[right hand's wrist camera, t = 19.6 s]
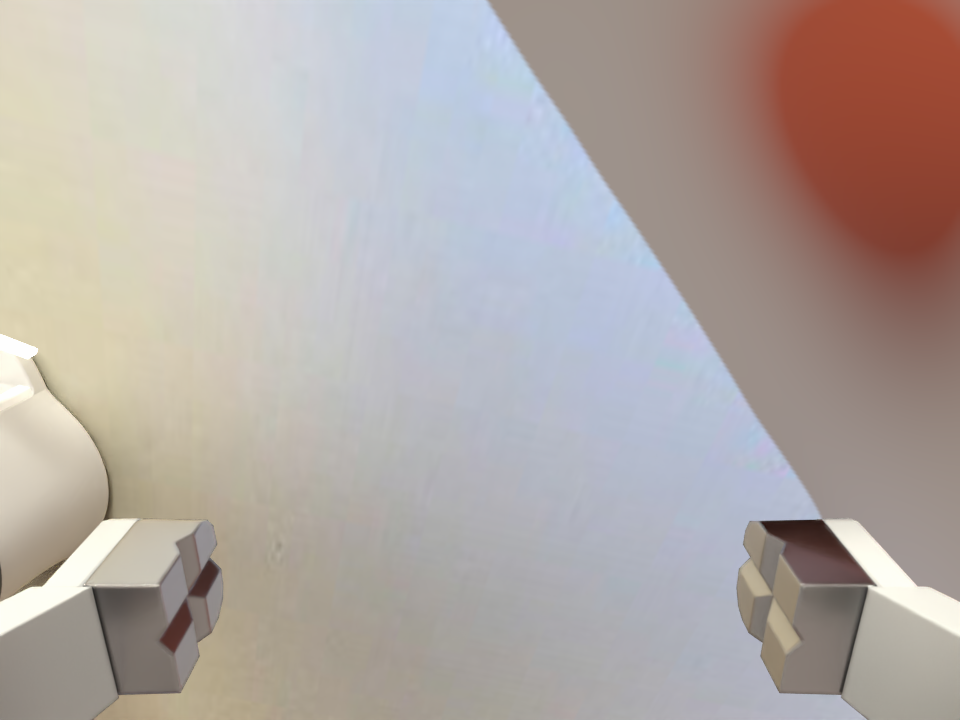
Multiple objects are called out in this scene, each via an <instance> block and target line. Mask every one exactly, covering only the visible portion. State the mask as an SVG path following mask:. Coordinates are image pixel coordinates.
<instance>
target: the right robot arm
mask: <svg viewBox="0 0 960 720" xmlns="http://www.w3.org/2000/svg"><path fill="white" fill-rule="evenodd" d="M37 350H38V349H37V348H34V347H32V346H29V345H27V344H24V343H21V342H19V341H16V340H14V339H11V338H9V337H6V336H3V335H1V334H0V720H93V719H94V718H95V717H96V716H98V715H99V714H100V713H101V712H103V711H104V710H105V709H106V708H107V707H109V706H110V705H111V704H112V703H113V702H115V701H116V700H117V699H118V698H119V696H118V695H129V694H163V693H181V691H182V689H183V687H184V685H185V684H186V682H187V680H188V678H189V676H190V674H191V672H192V670H193V668H194V666H195V664H196V662H197V660H198V658H199V650H198V644H197V643H198V642H199V641H201V640H202V639H203V638H205V637H206V636H208V635H209V634H211V633H212V631H213V629H214V626H215V624H216V622H217V620H218V618H219V614H220V609H221V605H222V600H223V578H222V572H221V568H220V567H219V566H218V565H217V564H216V563H215V562H214V561H213V560H212V559H211V558H210V556H211V554H212V552H213V550H214V549H215V547H216V545H217V541H216V536H215V532H214V527H213V525H212V524H211V523H210V522H209V521H208V520H181V519H139V518H137V519H108V520H105V521H103V520H104V518H105V515H106V511H107V506H108V498H109V487H108V479H107V474H106V470H105V466H104V463H103V461H102V458H101V456H100V453H99V451H98V449H97V447H96V445H95V444H94V442H93V440H92V439H91V437H90V436H89V434H88V433H87V431H86V430H85V429H84V427H83V426H82V425H81V424H80V422H79V421H78V420H77V419H76V418H75V417H74V416H73V415H72V414H71V413H70V412H69V411H68V410H67V409H66V408H65V407H64V406H63V405H62V404H61V403H60V402H59V401H58V400H57V399H56V398H55V397H54V396H53V395H52V394H51V393H50V391H49V390H48V389H47V387H46V385H45V382H44V380H43V378H42V376H41V374H40V372H39V370H38V368H37V366H36V364H35V363H34V361H33V359H32V358H31V357H32V356H34V355H36V354H37ZM743 545H744V547H745V549H746V550H747V552H748V554H749V556H750V558H749V559H748V560H747V561H746V562H745V563H744V564H743V565H742V566H741V567H740V568H739V572H738V580H737V598H738V607H739V610H740V614H741V617H742V620H743V622H744V624H745V627H746V629H747V631H748V633H749V634H751V635H752V636H754V637H755V638H757V639H758V640H759V641H761V642H762V643H763V644H762V650H761V658H762V660H763V662H764V664H765V666H766V668H767V670H768V672H769V674H770V676H771V678H772V680H773V681H774V683H775V685H776V687H777V689H778V691H779V693H795V694H831V695H842V696H841V698H842V699H843V700H845V701H846V702H847V703H848V704H849V705H851V706H852V707H853V708H854V709H855V710H857V711H858V712H859V713H860V714H861V715H863V716H864V717H865V718H866V719H867V720H960V602H959V601H957V600H955V599H953V598H951V597H949V596H947V595H945V594H942V593H940V592H938V591H936V590H934V589H932V588H930V587H918V586H917V585H916V584H915V583H914V582H913V581H912V580H911V579H910V578H909V577H908V576H907V574H906V573H905V572H904V571H903V570H902V569H901V568H900V567H899V566H898V565H897V564H896V562H895V561H894V560H893V559H892V558H891V557H890V556H889V555H888V554H887V553H886V552H885V550H884V549H883V548H882V547H881V546H880V545H879V544H878V543H877V542H876V541H875V539H874V538H873V537H872V536H871V535H870V534H869V533H868V532H867V531H866V530H865V529H864V527H863V526H862V525H861V524H860V523H859V522H857V521H855V520H853V519H851V518H838V519H817V520H779V521H750V522H749V524H748V526H747V528H746V530H745V535H744V541H743ZM68 557H69V558H68ZM67 558H68V559H67ZM65 559H67V560H66V561H65V562H64V564H63V565H62V566H61V567H60V568H59V569H58V570H57V571H56V572H55V573H54V574H53V576H52V577H51V578H50V579H49V580H48V581H47V582H46V583H45V584H44V585H43V586H42V587H30V588H28V589H26V590H24V591H22V592H19V593H17V594H15V593H16V592H17V591H19V590H20V589H21V588H22V587H24V586H25V585H26V584H28V583H29V582H30V581H32V580H33V579H34V578H36V577H37V576H38V575H40V574H41V573H43V572H44V571H46V570H47V569H49V568H51V567H52V566H54V565H55V564H57V563H59V562H61V561H63V560H65ZM14 594H15V595H14ZM12 595H13V596H12Z"/></svg>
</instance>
